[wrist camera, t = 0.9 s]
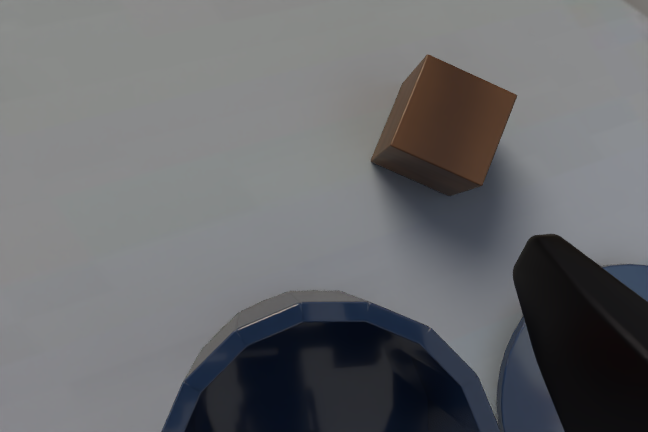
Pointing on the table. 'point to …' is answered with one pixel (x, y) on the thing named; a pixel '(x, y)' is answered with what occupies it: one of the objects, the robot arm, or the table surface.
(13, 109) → the table surface
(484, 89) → the block
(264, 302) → the pot
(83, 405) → the table surface
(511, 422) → the lid
